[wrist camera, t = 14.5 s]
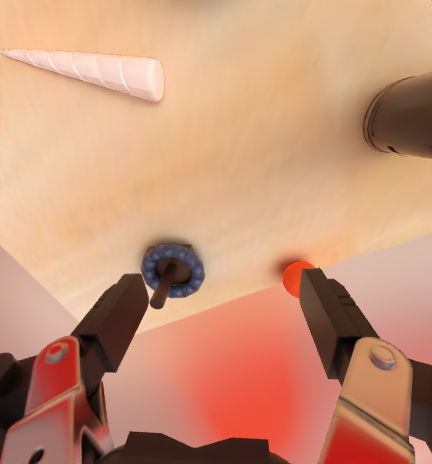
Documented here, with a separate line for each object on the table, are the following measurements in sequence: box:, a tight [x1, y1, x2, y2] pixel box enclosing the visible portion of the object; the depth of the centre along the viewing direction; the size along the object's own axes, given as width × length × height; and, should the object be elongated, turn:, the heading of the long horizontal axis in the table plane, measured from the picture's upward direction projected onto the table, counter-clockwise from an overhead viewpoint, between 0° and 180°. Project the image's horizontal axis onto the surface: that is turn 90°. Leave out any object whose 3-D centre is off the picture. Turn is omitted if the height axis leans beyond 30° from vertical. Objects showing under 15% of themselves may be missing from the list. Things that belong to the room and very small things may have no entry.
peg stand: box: [147, 245, 192, 309], centre depth 40 cm, size 9×9×12 cm
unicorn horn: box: [1, 49, 165, 102], centre depth 28 cm, size 5×24×5 cm, turn 76°
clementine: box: [283, 262, 320, 298], centre depth 40 cm, size 8×7×7 cm
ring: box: [141, 244, 205, 298], centre depth 42 cm, size 13×13×3 cm
